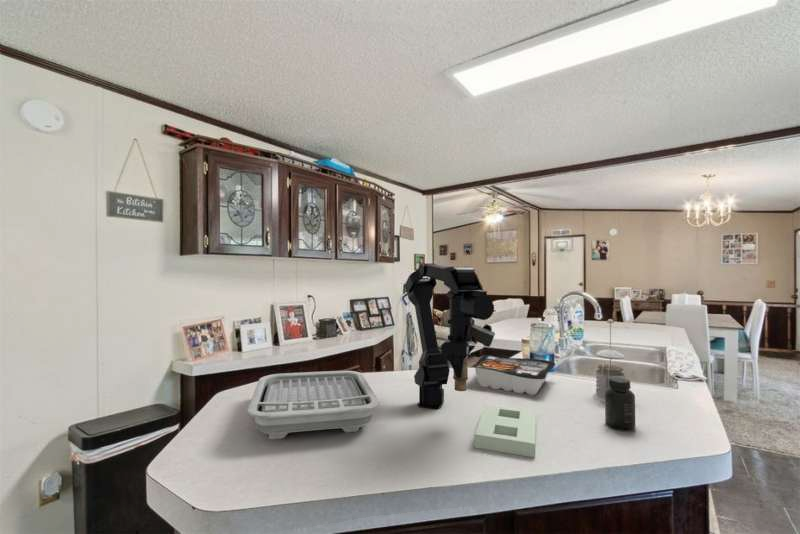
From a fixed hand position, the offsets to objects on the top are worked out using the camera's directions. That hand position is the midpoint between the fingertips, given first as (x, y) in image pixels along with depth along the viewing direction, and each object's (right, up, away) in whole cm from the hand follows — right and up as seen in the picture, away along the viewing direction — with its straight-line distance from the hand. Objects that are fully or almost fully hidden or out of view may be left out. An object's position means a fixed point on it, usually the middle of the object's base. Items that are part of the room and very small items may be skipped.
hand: (460, 375), depth 98 cm
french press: (+50, -14, +21) cm, 56 cm away
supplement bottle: (+42, -14, +1) cm, 44 cm away
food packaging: (+24, -14, +36) cm, 46 cm away
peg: (0, -4, 0) cm, 4 cm away
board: (+11, -13, -4) cm, 17 cm away
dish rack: (-39, -13, +7) cm, 42 cm away
